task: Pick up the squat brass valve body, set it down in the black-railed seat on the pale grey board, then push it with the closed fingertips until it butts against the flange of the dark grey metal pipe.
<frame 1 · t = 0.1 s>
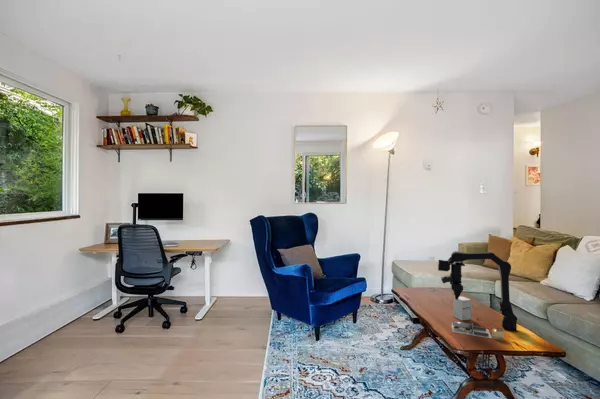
hand: (455, 297, 188), 15 cm above the table, fingers open, 9 cm apart
supplement box: (461, 318, 193), on the table
pipe run: (470, 331, 173), on the table
valve: (497, 338, 164), on the table
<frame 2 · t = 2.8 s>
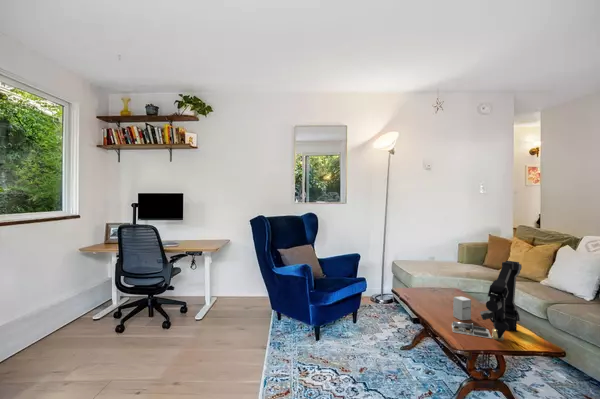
hand: (497, 336, 164), 1 cm above the table, fingers closed on valve, 5 cm apart
valve: (497, 338, 164), on the table, touching gripper
everything else where it was.
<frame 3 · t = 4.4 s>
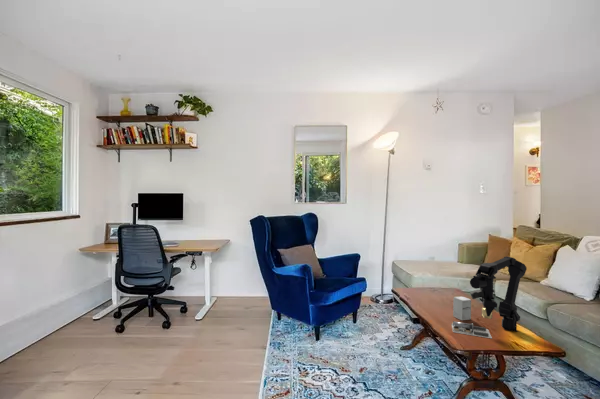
hand: (487, 314, 170), 11 cm above the table, fingers closed on valve, 5 cm apart
valve: (486, 316, 170), point 10 cm above the table, touching gripper
everything else where it was.
when the fingers open (3 cm above the table, at t = 6.3 s): valve drops 1 cm, resting on pipe run.
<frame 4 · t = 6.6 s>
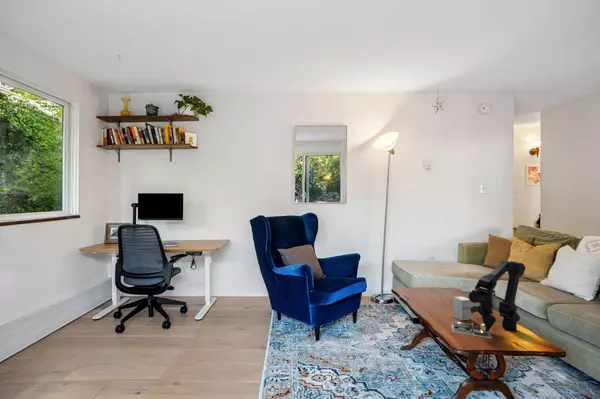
hand: (485, 328, 170), 3 cm above the table, fingers open, 8 cm apart
valve: (485, 332, 171), resting on pipe run
everything else where it was.
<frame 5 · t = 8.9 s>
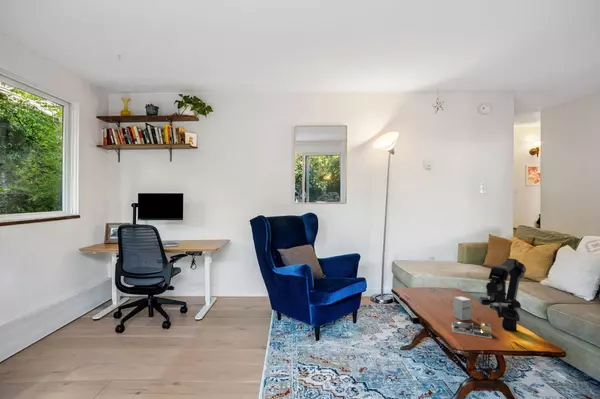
hand: (499, 317, 168), 10 cm above the table, fingers closed
nothing on the table moved.
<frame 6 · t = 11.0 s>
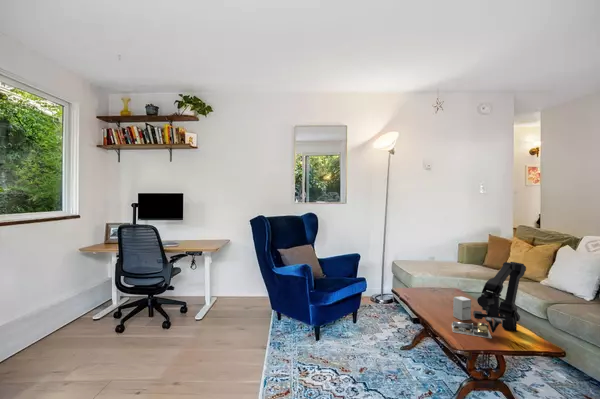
hand: (492, 332, 169), 1 cm above the table, fingers closed
valve: (482, 332, 171), resting on pipe run, touching gripper
everything else where it was.
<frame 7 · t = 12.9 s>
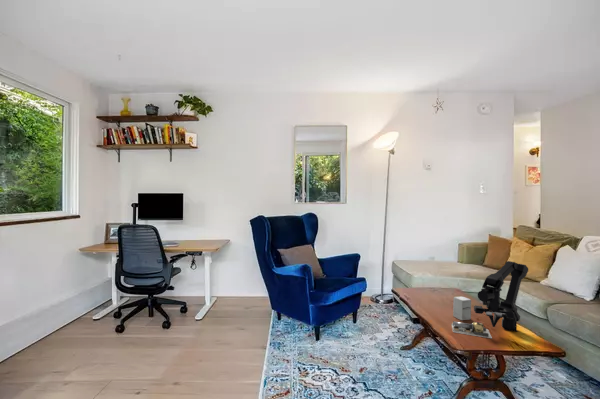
hand: (493, 326, 170), 4 cm above the table, fingers closed
valve: (478, 331, 172), resting on pipe run
everything else where it was.
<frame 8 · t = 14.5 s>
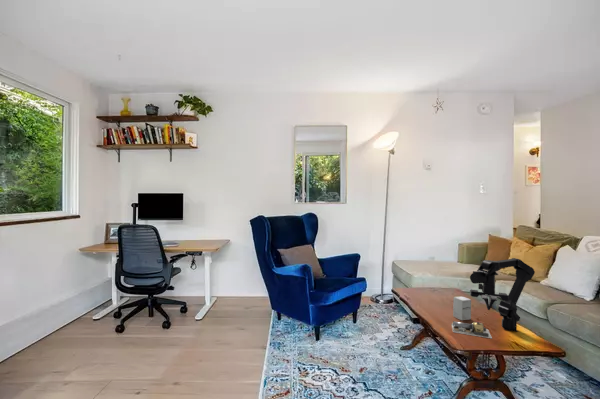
hand: (488, 309, 174), 12 cm above the table, fingers closed
nothing on the table moved.
at the end: valve 0.6 cm from the target spot on the pipe run, point 0.4 cm above the pipe run's base; valve tilted 0° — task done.
